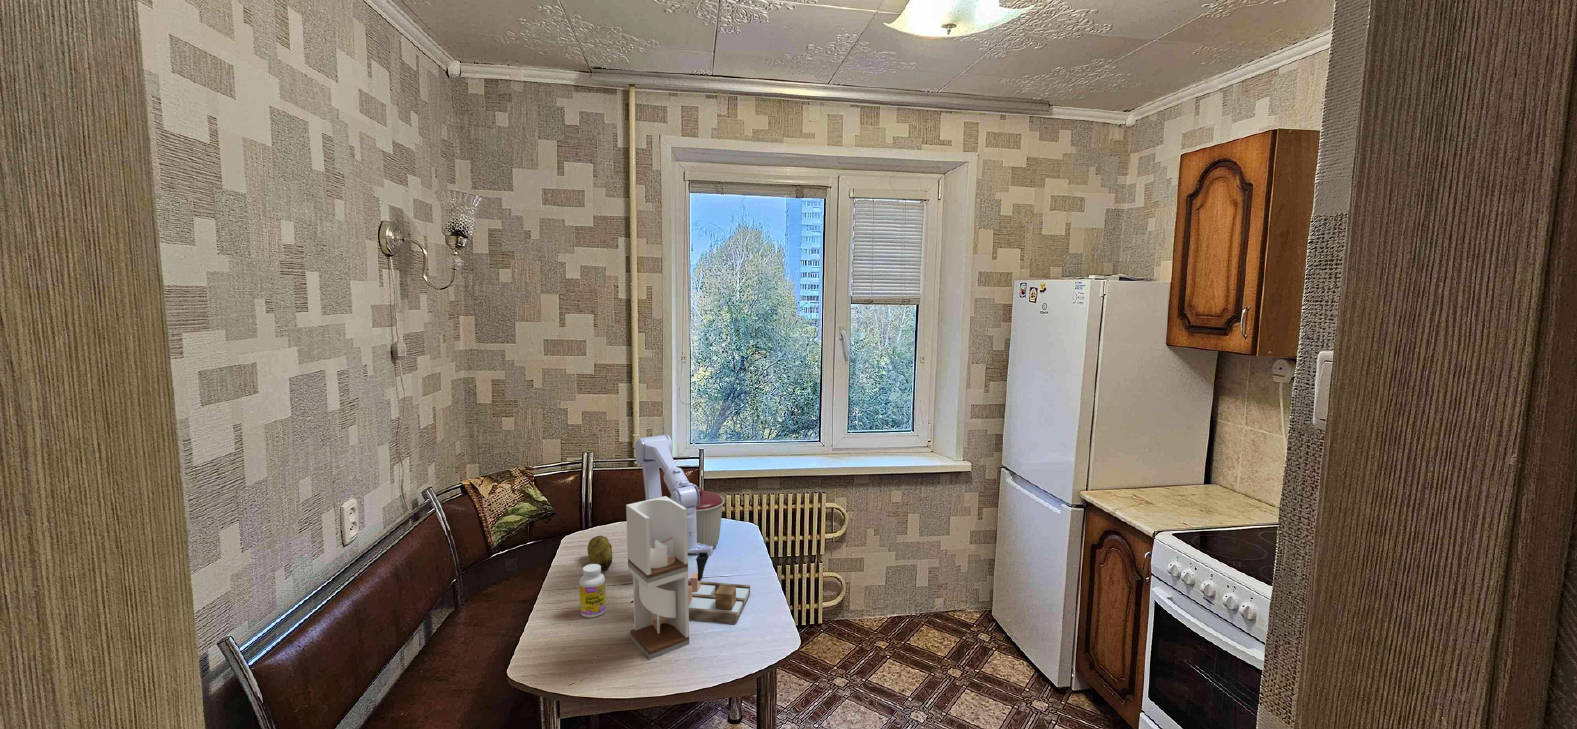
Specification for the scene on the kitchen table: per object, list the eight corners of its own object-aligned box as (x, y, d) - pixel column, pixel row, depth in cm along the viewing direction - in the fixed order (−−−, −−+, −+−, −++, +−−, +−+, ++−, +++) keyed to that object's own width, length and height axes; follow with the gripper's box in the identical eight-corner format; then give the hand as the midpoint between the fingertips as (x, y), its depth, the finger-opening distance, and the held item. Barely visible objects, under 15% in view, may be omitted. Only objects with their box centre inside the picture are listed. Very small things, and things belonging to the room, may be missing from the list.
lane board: (657, 616, 166) (656, 606, 166) (677, 588, 182) (677, 579, 181) (736, 624, 162) (736, 614, 162) (750, 594, 178) (750, 585, 178)
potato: (584, 574, 190) (583, 549, 189) (589, 556, 203) (588, 533, 202) (611, 572, 192) (611, 547, 191) (615, 554, 204) (614, 531, 203)
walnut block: (715, 609, 165) (715, 593, 164) (720, 600, 169) (720, 585, 169) (731, 610, 164) (731, 594, 164) (736, 602, 169) (735, 586, 168)
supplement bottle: (582, 621, 163) (580, 575, 162) (578, 609, 169) (576, 565, 168) (608, 615, 167) (606, 570, 165) (603, 604, 172) (601, 560, 171)
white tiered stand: (630, 638, 156) (626, 504, 151) (668, 624, 162) (665, 496, 158) (649, 659, 147) (645, 518, 142) (689, 644, 153) (686, 508, 149)
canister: (735, 544, 213) (735, 485, 211) (701, 563, 198) (700, 500, 195) (695, 533, 223) (695, 476, 220) (660, 550, 208) (659, 490, 205)
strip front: (680, 611, 166) (679, 592, 166) (686, 601, 172) (686, 583, 171) (737, 616, 163) (737, 598, 163) (742, 606, 169) (742, 588, 168)
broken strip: (689, 598, 174) (689, 580, 173) (695, 589, 179) (695, 571, 178) (744, 603, 171) (744, 584, 170) (749, 593, 176) (748, 575, 176)
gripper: (654, 534, 163) (656, 582, 165) (707, 537, 161) (708, 587, 163) (664, 524, 170) (665, 571, 172) (714, 527, 168) (715, 575, 170)
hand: (686, 578), depth 168 cm, fingers open, 7 cm apart
